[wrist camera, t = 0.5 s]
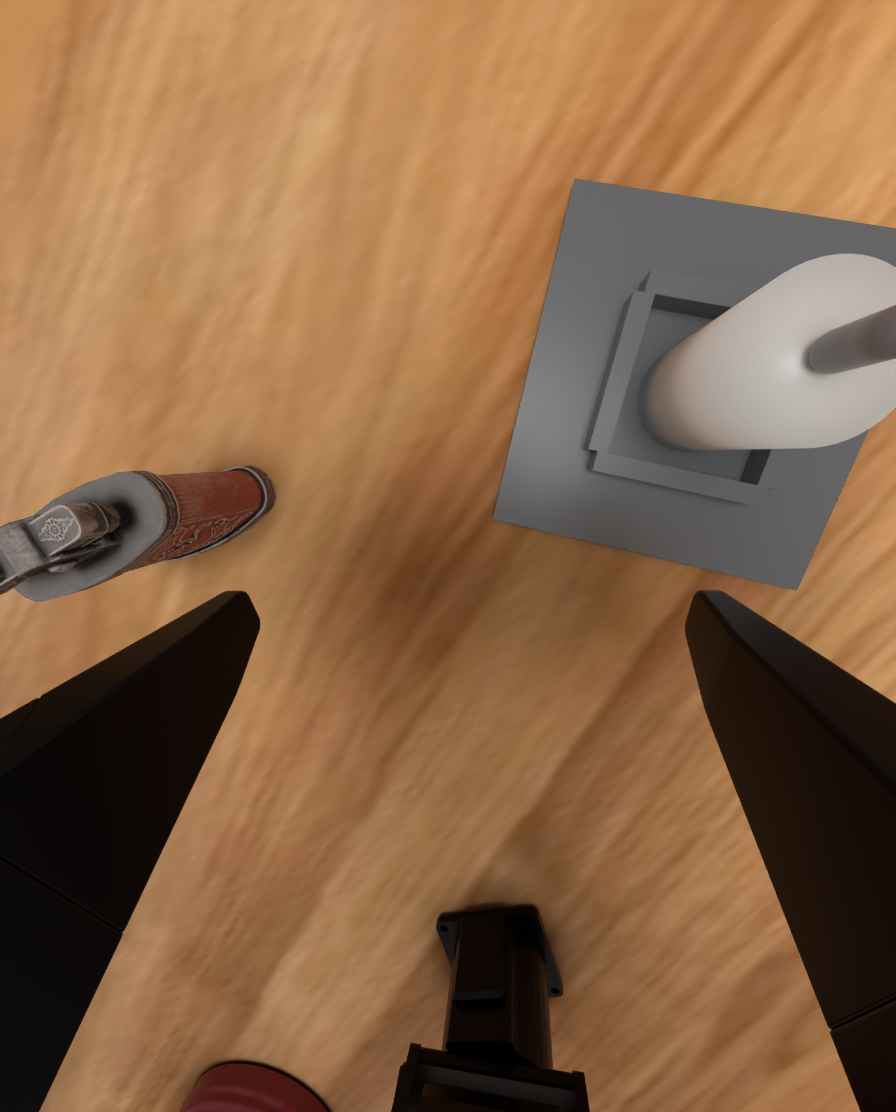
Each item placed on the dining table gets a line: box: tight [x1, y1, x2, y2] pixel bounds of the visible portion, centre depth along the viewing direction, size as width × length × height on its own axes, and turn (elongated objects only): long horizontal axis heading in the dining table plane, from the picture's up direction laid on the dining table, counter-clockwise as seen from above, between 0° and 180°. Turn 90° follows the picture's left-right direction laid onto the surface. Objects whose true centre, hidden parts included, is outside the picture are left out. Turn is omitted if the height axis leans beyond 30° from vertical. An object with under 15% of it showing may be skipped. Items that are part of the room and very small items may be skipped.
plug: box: [638, 254, 896, 451], centre depth 12 cm, size 4×4×12 cm
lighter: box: [0, 466, 276, 601], centre depth 19 cm, size 8×3×10 cm, turn 116°
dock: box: [493, 179, 896, 590], centre depth 18 cm, size 14×14×2 cm
